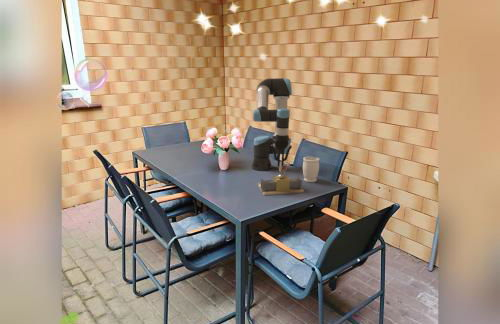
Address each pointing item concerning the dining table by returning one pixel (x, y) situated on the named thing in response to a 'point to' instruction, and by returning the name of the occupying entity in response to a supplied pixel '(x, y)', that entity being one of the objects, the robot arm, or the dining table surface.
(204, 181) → the dining table surface
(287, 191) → the board
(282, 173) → the lever
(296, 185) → the valve pipe
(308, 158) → the jar
